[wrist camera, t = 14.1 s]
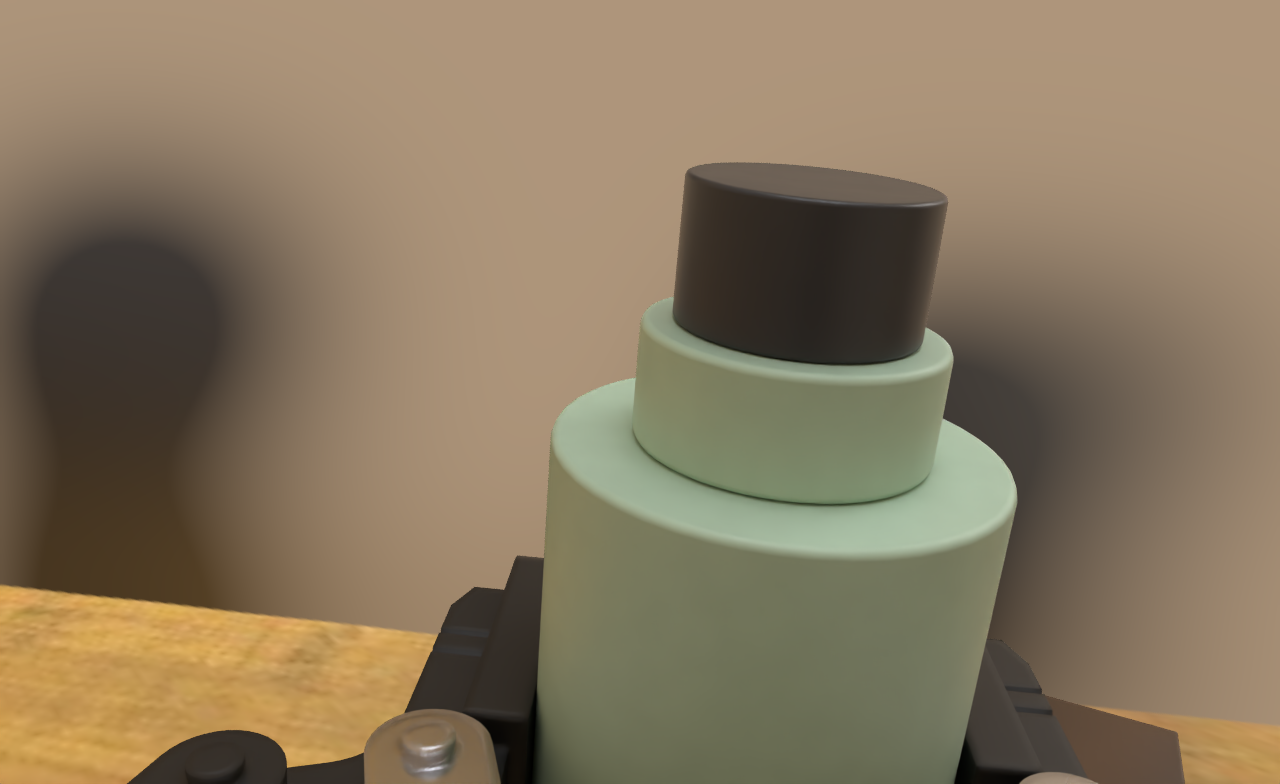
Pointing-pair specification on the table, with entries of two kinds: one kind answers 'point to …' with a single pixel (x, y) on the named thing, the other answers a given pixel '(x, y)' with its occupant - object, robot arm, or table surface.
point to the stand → (1119, 746)
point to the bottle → (773, 508)
